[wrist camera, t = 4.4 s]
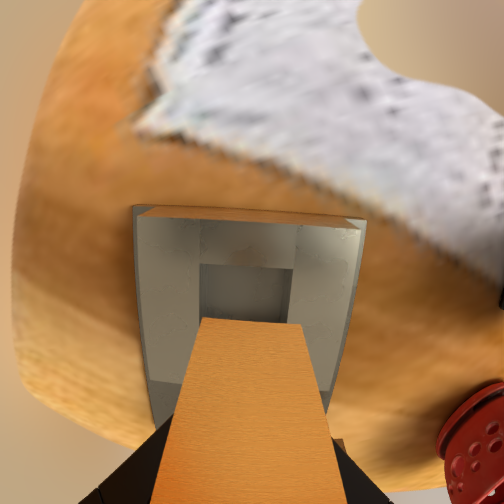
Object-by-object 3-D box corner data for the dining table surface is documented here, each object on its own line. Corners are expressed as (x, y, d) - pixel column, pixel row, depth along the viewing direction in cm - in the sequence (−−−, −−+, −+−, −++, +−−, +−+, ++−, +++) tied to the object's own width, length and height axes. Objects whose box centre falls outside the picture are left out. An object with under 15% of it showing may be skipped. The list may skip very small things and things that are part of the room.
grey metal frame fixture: (371, 219, 19) (442, 258, 11) (322, 436, 24) (337, 512, 16) (137, 204, 18) (63, 235, 10) (158, 427, 24) (136, 501, 16)
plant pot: (529, 360, 23) (586, 418, 11) (483, 440, 26) (519, 500, 15) (453, 377, 22) (517, 465, 11) (406, 462, 26) (437, 541, 15)
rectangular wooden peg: (300, 324, 9) (376, 645, 1) (283, 414, 10) (305, 646, 2) (202, 317, 9) (119, 644, 1) (202, 409, 10) (165, 641, 2)
